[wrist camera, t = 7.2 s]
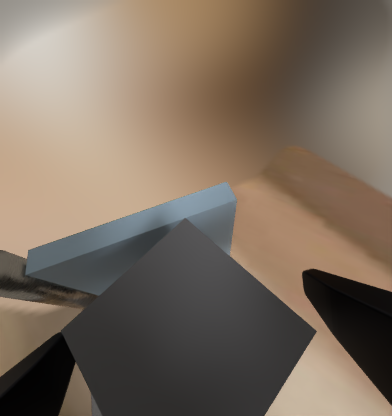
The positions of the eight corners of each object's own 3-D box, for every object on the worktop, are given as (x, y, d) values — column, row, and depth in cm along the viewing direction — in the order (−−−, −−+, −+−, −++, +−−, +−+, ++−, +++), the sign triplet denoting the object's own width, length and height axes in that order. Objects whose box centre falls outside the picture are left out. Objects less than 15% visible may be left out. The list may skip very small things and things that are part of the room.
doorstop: (250, 330, 15) (316, 331, 5) (208, 385, 13) (173, 561, 3) (206, 285, 17) (185, 217, 7) (166, 329, 15) (61, 330, 5)
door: (116, 300, 16) (25, 275, 9) (112, 268, 18) (31, 221, 10) (229, 257, 17) (236, 199, 10) (216, 230, 19) (214, 160, 11)
